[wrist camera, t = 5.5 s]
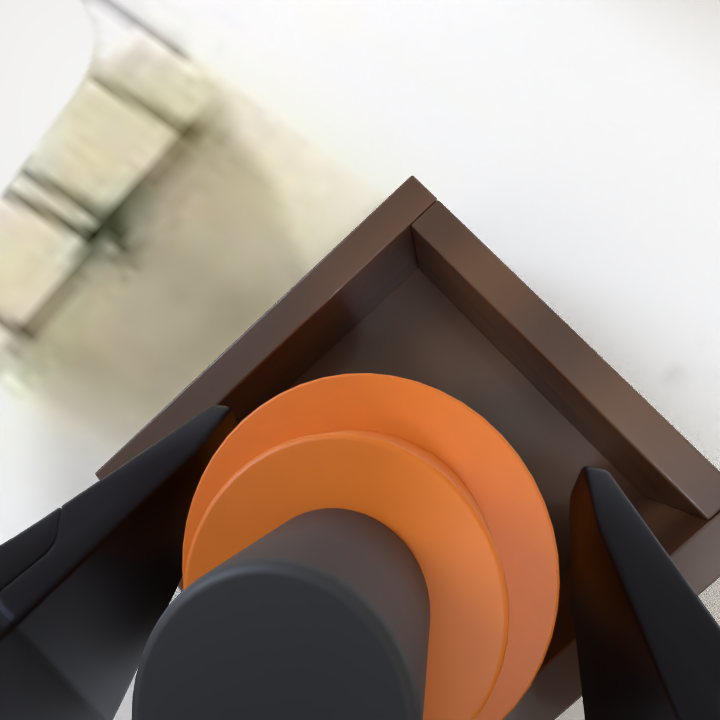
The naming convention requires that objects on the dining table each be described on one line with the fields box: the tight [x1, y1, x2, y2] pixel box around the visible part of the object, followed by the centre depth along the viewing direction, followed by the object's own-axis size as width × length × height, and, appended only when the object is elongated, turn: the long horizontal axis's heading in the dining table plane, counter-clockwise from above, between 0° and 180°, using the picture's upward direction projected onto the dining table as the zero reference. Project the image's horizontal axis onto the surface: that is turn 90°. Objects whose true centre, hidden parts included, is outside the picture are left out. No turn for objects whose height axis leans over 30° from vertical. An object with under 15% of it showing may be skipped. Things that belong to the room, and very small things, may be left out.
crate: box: [96, 176, 720, 720], centre depth 15 cm, size 12×12×5 cm
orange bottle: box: [132, 373, 560, 720], centre depth 10 cm, size 5×5×14 cm
